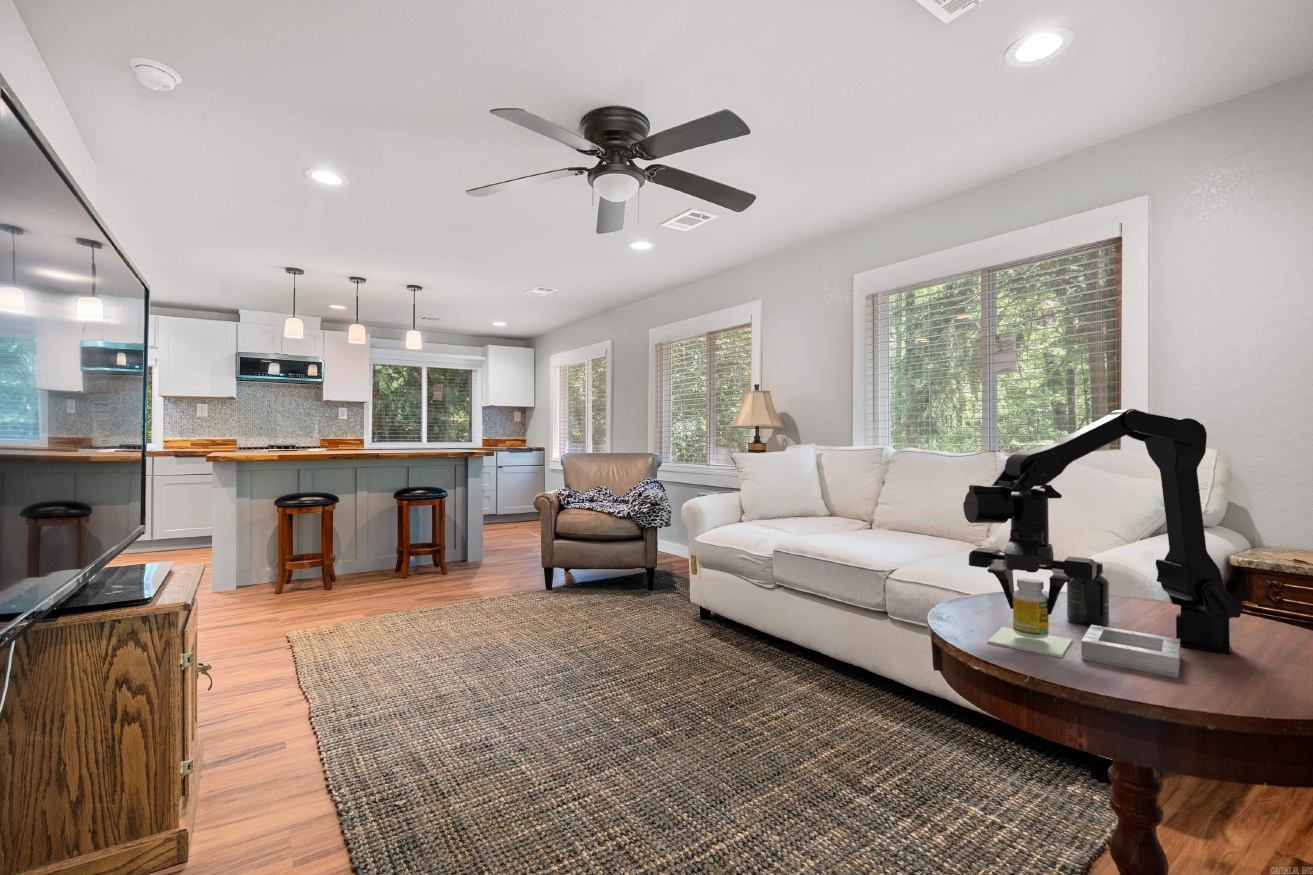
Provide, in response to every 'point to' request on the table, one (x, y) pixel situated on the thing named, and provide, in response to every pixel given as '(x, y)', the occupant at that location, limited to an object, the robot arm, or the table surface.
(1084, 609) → the supplement bottle
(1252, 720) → the table surface
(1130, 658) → the grey square frame
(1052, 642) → the sage pad
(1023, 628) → the supplement bottle
